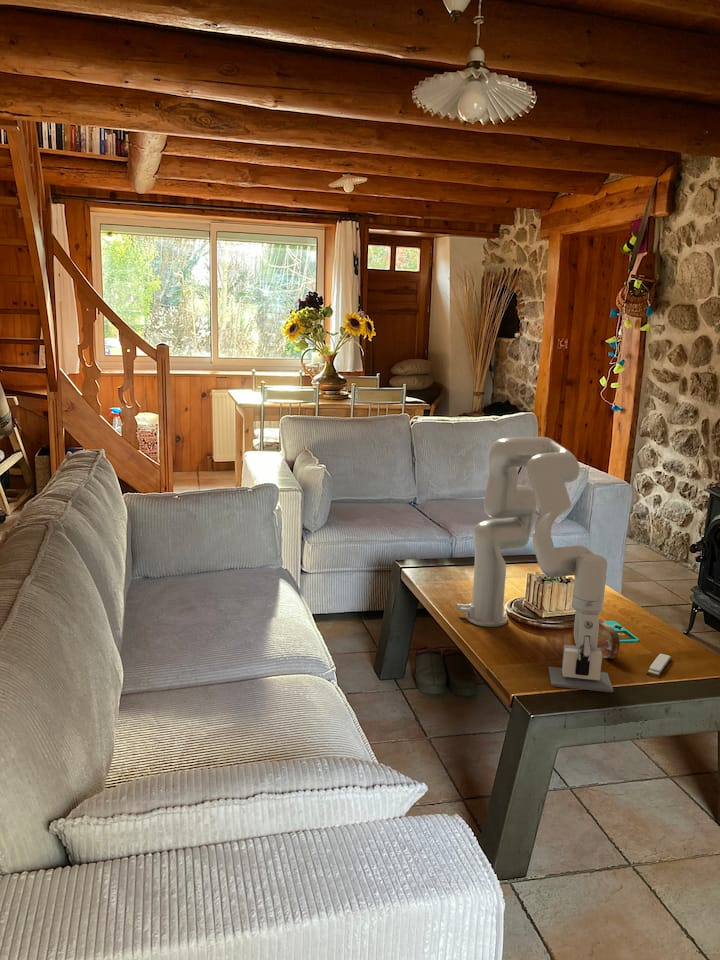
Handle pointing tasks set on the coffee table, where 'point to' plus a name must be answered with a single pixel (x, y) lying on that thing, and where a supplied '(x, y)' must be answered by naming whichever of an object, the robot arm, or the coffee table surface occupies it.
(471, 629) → the coffee table surface
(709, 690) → the coffee table surface
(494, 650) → the coffee table surface
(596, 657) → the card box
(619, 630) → the handheld gaming console
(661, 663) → the harmonica
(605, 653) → the tin
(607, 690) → the mat
